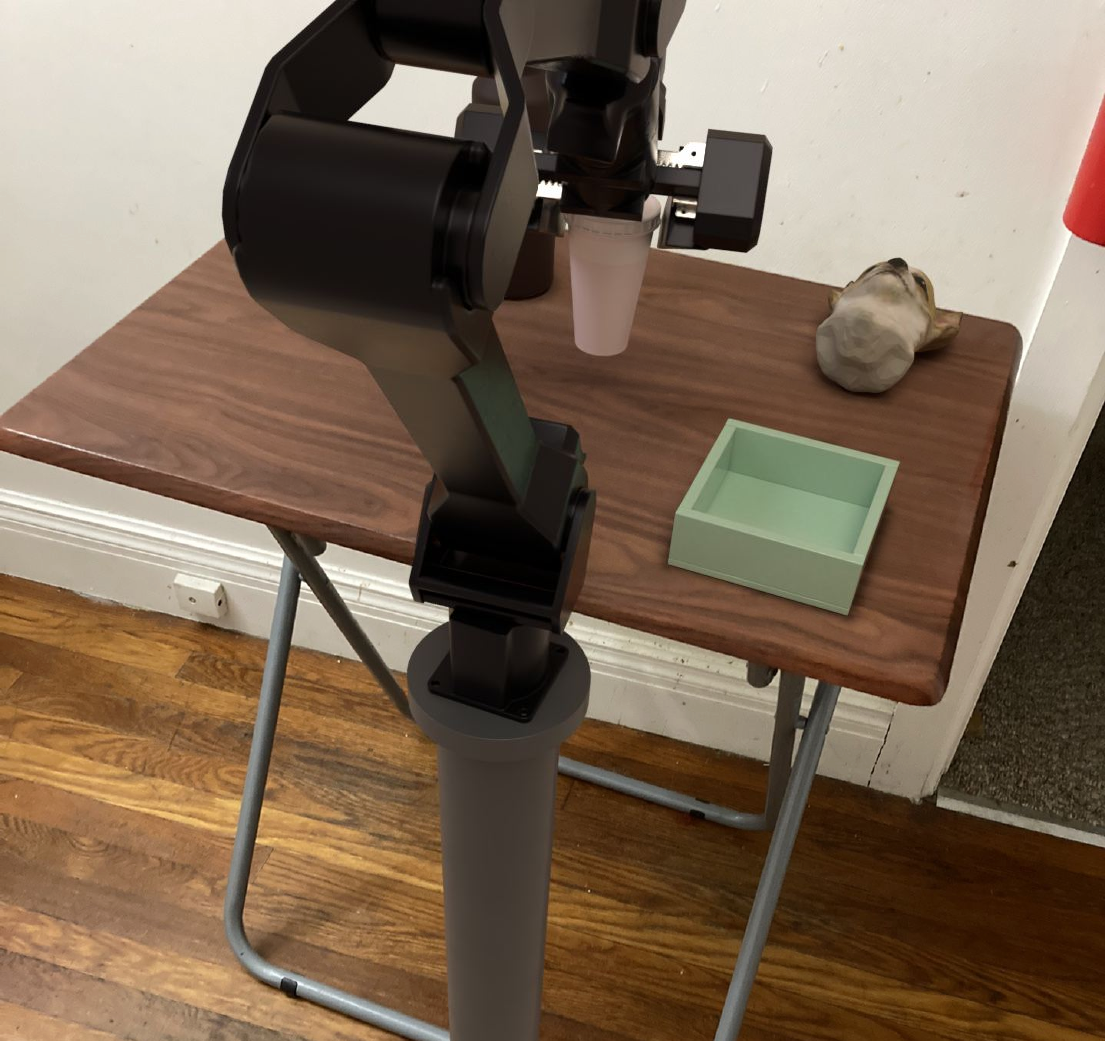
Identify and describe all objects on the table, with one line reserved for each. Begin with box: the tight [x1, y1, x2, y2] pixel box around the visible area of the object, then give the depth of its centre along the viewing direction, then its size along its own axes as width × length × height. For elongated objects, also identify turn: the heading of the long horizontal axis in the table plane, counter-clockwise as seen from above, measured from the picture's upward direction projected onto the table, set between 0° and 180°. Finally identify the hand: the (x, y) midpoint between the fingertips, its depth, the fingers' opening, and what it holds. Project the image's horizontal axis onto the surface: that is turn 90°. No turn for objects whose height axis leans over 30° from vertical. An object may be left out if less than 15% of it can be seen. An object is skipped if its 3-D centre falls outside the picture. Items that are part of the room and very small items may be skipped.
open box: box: [667, 418, 901, 616], centre depth 74 cm, size 12×12×4 cm
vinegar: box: [471, 67, 557, 299], centre depth 90 cm, size 7×7×20 cm
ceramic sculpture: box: [815, 257, 964, 394], centre depth 89 cm, size 11×9×15 cm
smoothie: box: [563, 194, 662, 357], centre depth 77 cm, size 6×6×14 cm
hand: (612, 235), depth 78 cm, fingers closed on smoothie, 6 cm apart
